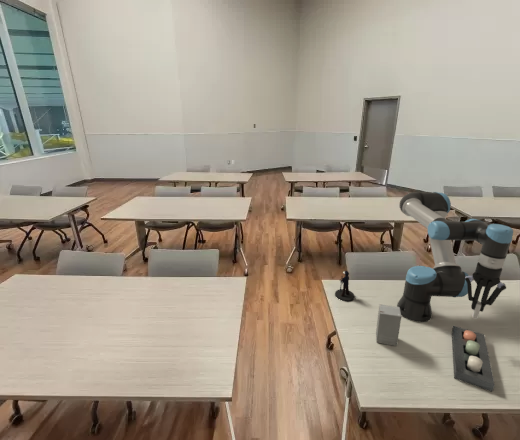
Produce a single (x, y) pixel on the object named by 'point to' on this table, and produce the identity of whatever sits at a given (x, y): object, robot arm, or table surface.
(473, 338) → the coral button
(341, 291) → the figurine
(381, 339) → the skincare box
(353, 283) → the table surface
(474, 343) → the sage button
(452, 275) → the robot arm
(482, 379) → the panel
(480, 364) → the white glossy ball
